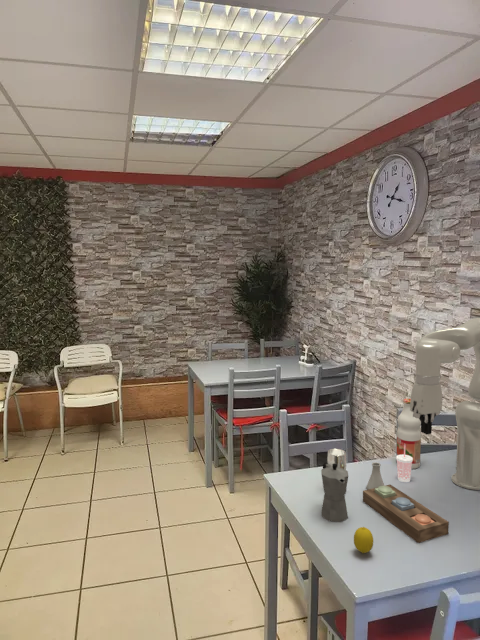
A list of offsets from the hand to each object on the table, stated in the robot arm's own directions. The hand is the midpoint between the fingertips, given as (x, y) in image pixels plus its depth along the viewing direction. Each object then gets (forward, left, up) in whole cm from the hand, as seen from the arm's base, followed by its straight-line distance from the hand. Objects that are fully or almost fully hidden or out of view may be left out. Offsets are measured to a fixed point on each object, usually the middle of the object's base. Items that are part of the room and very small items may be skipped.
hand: (426, 432), depth 154 cm
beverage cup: (-9, -20, -27) cm, 35 cm away
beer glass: (+20, -23, -27) cm, 41 cm away
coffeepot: (+30, -10, -27) cm, 42 cm away
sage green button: (+10, -8, -25) cm, 28 cm away
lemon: (+34, +12, -27) cm, 45 cm away
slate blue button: (+10, +1, -25) cm, 27 cm away
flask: (+6, -18, -27) cm, 33 cm away
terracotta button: (+10, +10, -26) cm, 30 cm away
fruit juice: (-20, -30, -27) cm, 45 cm away
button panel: (+10, +1, -27) cm, 29 cm away
